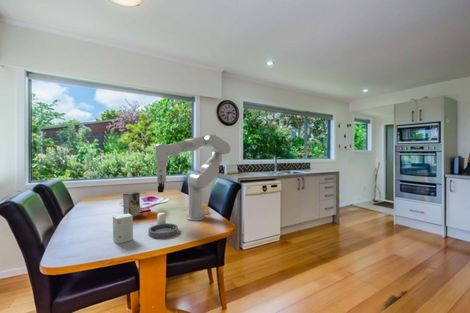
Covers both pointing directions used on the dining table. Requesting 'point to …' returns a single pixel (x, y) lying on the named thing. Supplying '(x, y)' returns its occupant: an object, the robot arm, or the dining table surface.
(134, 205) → the coffee box
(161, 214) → the white egg
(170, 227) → the round bowl
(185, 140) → the robot arm
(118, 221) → the small box
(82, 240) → the dining table surface
